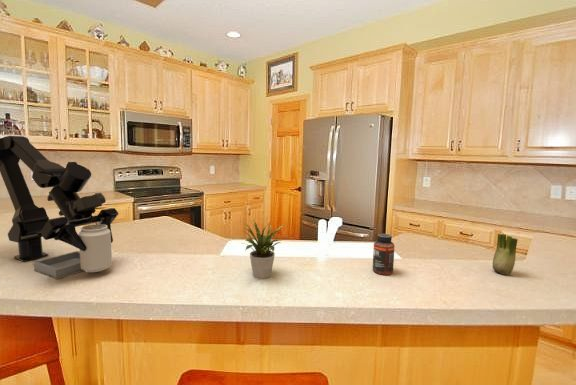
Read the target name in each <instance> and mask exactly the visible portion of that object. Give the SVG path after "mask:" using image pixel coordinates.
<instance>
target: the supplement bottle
mask: <svg viewBox="0 0 576 385" xmlns="http://www.w3.org/2000/svg"><path fill="white" fill-rule="evenodd" d="M376 238H377V239H376V240H375V241H374V243H373V250H372V251H373V252H372V255H373V256H372V271H373V272H374V273H376V274H377V275H384V276H389V275H392V274H393V273H394V262H395V244H394V242H392V239H393V238H392V235H391V234H388V233H378V234H377V237H376Z"/></svg>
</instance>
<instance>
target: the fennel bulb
mask: <svg viewBox="0 0 576 385" xmlns="http://www.w3.org/2000/svg"><path fill="white" fill-rule="evenodd" d="M496 241H497V243H496V248H495V252H494V254H493V259H492V269H493V270H494V272H496V273H498V274H500V275H506V276H507V275H511V274H512V272H513V270H514V267H515V263H516V253H517V245H518V244H517V243H518V238H516V237H513V236H511V235H507V234H504V233H498V234H497V240H496Z"/></svg>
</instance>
